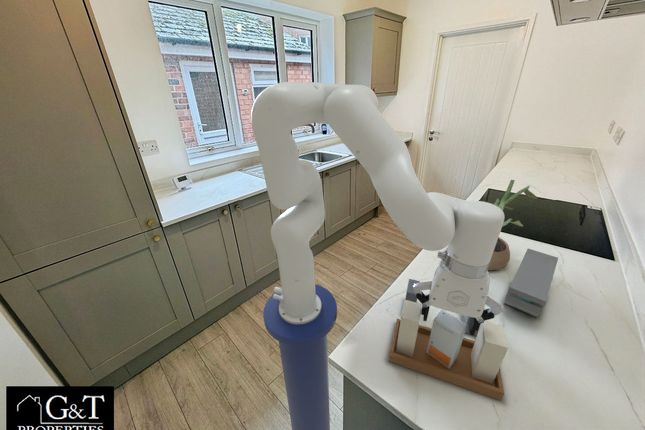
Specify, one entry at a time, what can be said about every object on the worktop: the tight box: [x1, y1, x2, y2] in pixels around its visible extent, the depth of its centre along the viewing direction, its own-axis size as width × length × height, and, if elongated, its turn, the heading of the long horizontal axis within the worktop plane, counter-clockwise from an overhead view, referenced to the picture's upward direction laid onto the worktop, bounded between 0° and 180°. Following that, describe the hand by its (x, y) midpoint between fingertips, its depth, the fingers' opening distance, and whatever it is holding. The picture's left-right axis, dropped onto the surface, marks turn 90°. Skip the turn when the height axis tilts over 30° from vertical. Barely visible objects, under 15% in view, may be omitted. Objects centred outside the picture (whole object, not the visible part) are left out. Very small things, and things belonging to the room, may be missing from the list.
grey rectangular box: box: [504, 248, 559, 318], centre depth 78 cm, size 25×8×11 cm, turn 136°
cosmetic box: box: [426, 309, 468, 369], centre depth 61 cm, size 6×4×12 cm
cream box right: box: [471, 320, 509, 384], centre depth 58 cm, size 4×6×12 cm, turn 157°
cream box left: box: [396, 299, 422, 357], centre depth 64 cm, size 4×6×12 cm, turn 157°
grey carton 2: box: [462, 308, 485, 337], centre depth 70 cm, size 3×6×9 cm, turn 157°
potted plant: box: [487, 179, 538, 271], centre depth 94 cm, size 22×18×30 cm
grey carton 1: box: [404, 278, 421, 303], centre depth 76 cm, size 3×6×9 cm, turn 157°
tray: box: [388, 318, 505, 401], centre depth 64 cm, size 24×12×3 cm, turn 67°
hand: (447, 323), depth 59 cm, fingers open, 9 cm apart
